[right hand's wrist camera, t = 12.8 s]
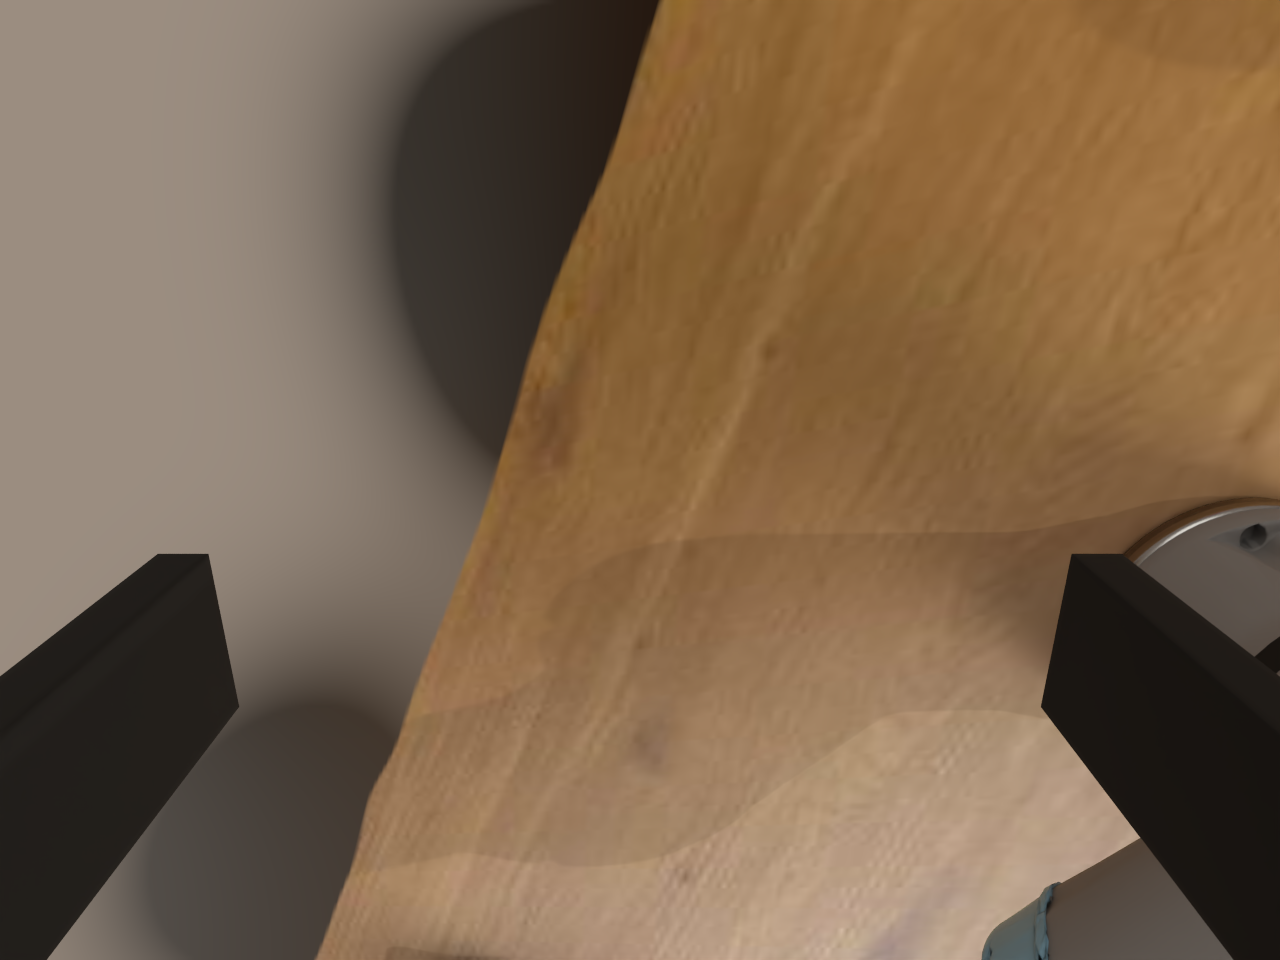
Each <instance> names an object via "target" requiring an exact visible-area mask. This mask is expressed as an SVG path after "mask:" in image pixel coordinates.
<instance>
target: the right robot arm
mask: <svg viewBox="0 0 1280 960" xmlns="http://www.w3.org/2000/svg"><path fill="white" fill-rule="evenodd" d="M238 708H239V704H238V699H237V694H236V689H235V685H234V679H233V674H232V669H231V664H230V659H229V654H228V650H227V645H226V639H225V635H224V629H223V625H222V620H221V614H220V610H219V605H218V600H217V595H216V590H215V585H214V580H213V575H212V570H211V565H210V560H209V555H208V554H157V555H156V556H155V557H153V558H152V559H151V560H150V561H148V562H147V563H146V564H144V565H143V566H142V567H141V568H139V569H138V570H137V571H135V572H134V573H133V574H132V575H130V576H129V577H128V578H126V579H125V580H124V581H122V582H121V583H120V584H119V585H117V586H116V587H115V588H113V589H112V590H111V591H110V592H108V593H107V594H106V595H104V596H103V597H102V598H101V599H99V600H98V601H97V602H95V603H94V604H93V605H92V606H90V607H89V608H88V609H86V610H85V611H84V612H83V613H81V614H80V615H79V616H77V617H76V618H75V619H74V620H72V621H71V622H70V623H68V624H67V625H66V626H65V627H63V628H62V629H61V630H59V631H58V632H57V633H56V634H54V635H53V636H52V637H50V638H49V639H48V640H47V641H45V642H44V643H43V644H41V645H40V646H39V647H38V648H36V649H35V650H34V651H32V652H31V653H30V654H29V655H27V656H26V657H25V658H23V659H22V660H21V661H19V662H18V663H17V664H16V665H14V666H13V667H12V668H10V669H9V670H8V671H7V672H5V673H4V674H3V675H1V676H0V960H47V959H48V957H49V956H50V955H51V953H52V952H53V951H54V949H55V948H56V947H57V945H58V944H59V943H60V941H61V940H62V939H63V937H64V936H65V935H66V934H67V932H68V931H69V930H70V928H71V927H72V926H73V924H74V923H75V922H76V920H77V919H78V918H79V917H80V915H81V914H82V913H83V911H84V910H85V909H86V907H87V906H88V905H89V903H90V902H91V901H92V899H93V898H94V897H95V896H96V894H97V893H98V892H99V890H100V889H101V888H102V886H103V885H104V884H105V882H106V881H107V880H108V878H109V877H110V876H111V874H112V873H113V872H114V870H115V869H116V868H117V867H118V865H119V864H120V863H121V861H122V860H123V859H124V857H125V856H126V855H127V853H128V852H129V851H130V849H131V848H132V847H133V846H134V844H135V843H136V842H137V840H138V839H139V838H140V836H141V835H142V834H143V832H144V831H145V830H146V828H147V827H148V826H149V824H150V823H151V822H152V821H153V819H154V818H155V817H156V815H157V814H158V813H159V811H160V810H161V809H162V807H163V806H164V805H165V803H166V802H167V801H168V800H169V798H170V797H171V796H172V794H173V793H174V792H175V790H176V789H177V788H178V786H179V785H180V784H181V782H182V781H183V780H184V779H185V777H186V776H187V775H188V773H189V772H190V771H191V769H192V768H193V767H194V765H195V764H196V763H197V761H198V760H199V759H200V757H201V756H202V755H203V753H204V752H205V751H206V750H207V748H208V747H209V746H210V744H211V743H212V742H213V740H214V739H215V738H216V736H217V735H218V734H219V732H220V731H221V730H222V729H223V727H224V726H225V725H226V723H227V722H228V721H229V719H230V718H231V717H232V715H233V714H234V713H235V711H236V710H237V709H238ZM1041 708H1042V709H1043V710H1044V711H1045V713H1046V714H1047V715H1048V717H1049V718H1050V719H1051V721H1052V722H1053V723H1054V725H1055V726H1056V727H1057V729H1058V730H1059V731H1060V732H1061V734H1062V735H1063V736H1064V738H1065V739H1066V740H1067V742H1068V743H1069V744H1070V746H1071V747H1072V748H1073V750H1074V751H1075V752H1076V754H1077V755H1078V756H1079V757H1080V759H1081V760H1082V761H1083V763H1084V764H1085V765H1086V767H1087V768H1088V769H1089V771H1090V772H1091V773H1092V775H1093V776H1094V777H1095V779H1096V780H1097V781H1098V782H1099V784H1100V785H1101V786H1102V788H1103V789H1104V790H1105V792H1106V793H1107V794H1108V796H1109V797H1110V798H1111V800H1112V801H1113V802H1114V803H1115V805H1116V806H1117V807H1118V809H1119V810H1120V811H1121V813H1122V814H1123V815H1124V817H1125V818H1126V819H1127V821H1128V822H1129V823H1130V825H1131V826H1132V827H1133V828H1134V830H1135V831H1136V832H1137V834H1138V835H1139V836H1140V839H1138V840H1136V841H1135V842H1133V843H1131V844H1129V845H1128V846H1126V847H1124V848H1123V849H1121V850H1119V851H1118V852H1116V853H1114V854H1112V855H1111V856H1109V857H1107V858H1106V859H1104V860H1102V861H1101V862H1099V863H1097V864H1095V865H1094V866H1092V867H1090V868H1088V869H1086V870H1085V871H1083V872H1081V873H1079V874H1077V875H1076V876H1074V877H1072V878H1070V879H1068V880H1067V881H1065V882H1063V883H1060V882H1057V883H1054V884H1052V885H1050V886H1048V887H1046V888H1045V889H1044V891H1043V892H1042V894H1041V896H1040V897H1039V898H1038V899H1036V900H1035V901H1033V902H1032V903H1030V904H1029V905H1027V906H1026V907H1025V908H1023V909H1022V910H1020V911H1019V912H1017V913H1016V914H1015V915H1013V916H1012V917H1010V918H1008V919H1007V920H1005V921H1004V922H1002V923H1001V924H999V925H998V926H997V927H996V928H995V929H994V930H993V931H992V932H991V934H990V935H989V937H988V938H987V940H986V943H985V945H984V948H983V952H982V960H1280V500H1278V499H1269V498H1241V499H1232V500H1226V501H1220V502H1216V503H1212V504H1208V505H1205V506H1202V507H1199V508H1196V509H1193V510H1191V511H1188V512H1186V513H1184V514H1181V515H1179V516H1177V517H1175V518H1173V519H1171V520H1169V521H1168V522H1166V523H1164V524H1162V525H1161V526H1159V527H1158V528H1156V529H1154V530H1153V531H1151V532H1150V533H1149V534H1147V535H1146V536H1145V537H1143V538H1142V539H1141V540H1139V541H1138V542H1137V543H1136V544H1135V545H1134V546H1132V547H1131V548H1130V549H1129V550H1128V551H1127V552H1126V553H1125V554H1124V555H1123V554H1072V555H1071V560H1070V565H1069V570H1068V575H1067V580H1066V585H1065V590H1064V595H1063V600H1062V605H1061V610H1060V614H1059V619H1058V624H1057V629H1056V634H1055V639H1054V644H1053V649H1052V654H1051V659H1050V664H1049V669H1048V674H1047V679H1046V684H1045V689H1044V694H1043V699H1042V704H1041Z"/></svg>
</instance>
